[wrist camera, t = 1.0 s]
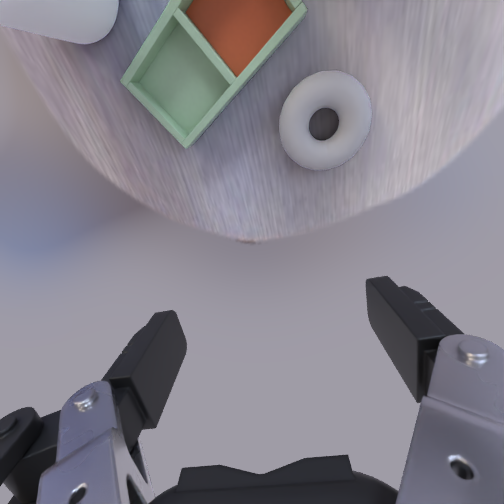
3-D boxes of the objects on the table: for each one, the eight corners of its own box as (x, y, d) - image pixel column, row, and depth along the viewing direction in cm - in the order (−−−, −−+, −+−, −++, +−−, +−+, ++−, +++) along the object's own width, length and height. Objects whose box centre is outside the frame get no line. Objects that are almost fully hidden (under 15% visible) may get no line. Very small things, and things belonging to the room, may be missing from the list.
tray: (131, 81, 30) (119, 81, 27) (240, -86, 22) (235, -106, 20) (192, 145, 33) (185, 149, 30) (305, 16, 25) (307, 9, 23)
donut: (349, 49, 26) (263, 104, 30) (358, 43, 24) (262, 105, 27) (377, 141, 31) (299, 180, 34) (388, 146, 28) (302, 189, 31)
